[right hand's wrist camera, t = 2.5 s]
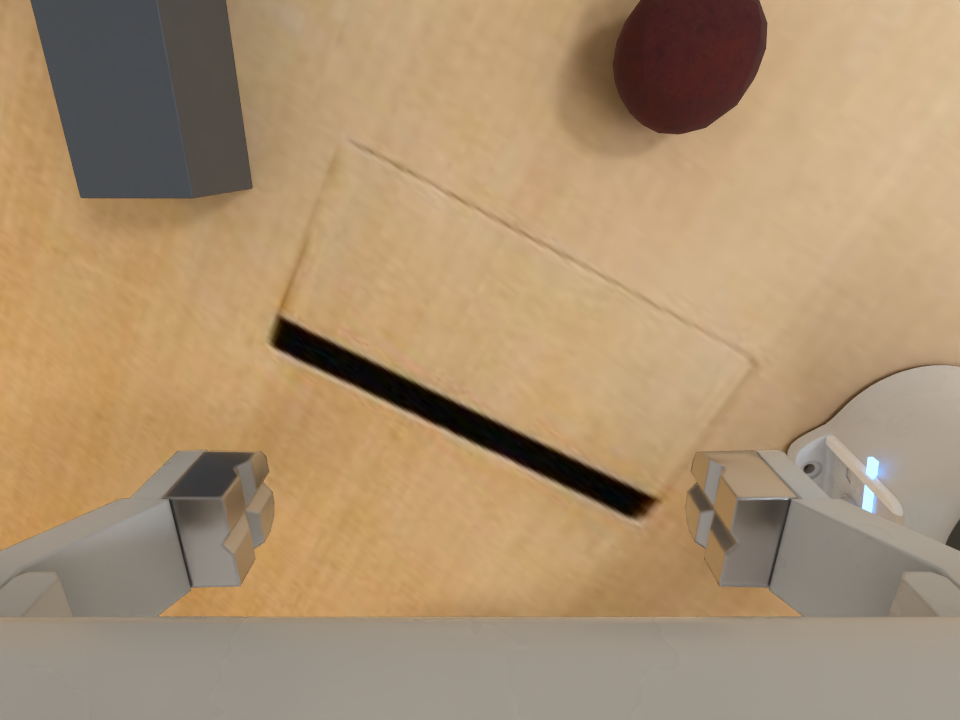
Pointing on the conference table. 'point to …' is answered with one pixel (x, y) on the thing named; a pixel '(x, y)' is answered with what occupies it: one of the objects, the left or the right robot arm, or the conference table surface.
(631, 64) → the dark red plum
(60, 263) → the conference table surface
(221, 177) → the bar
